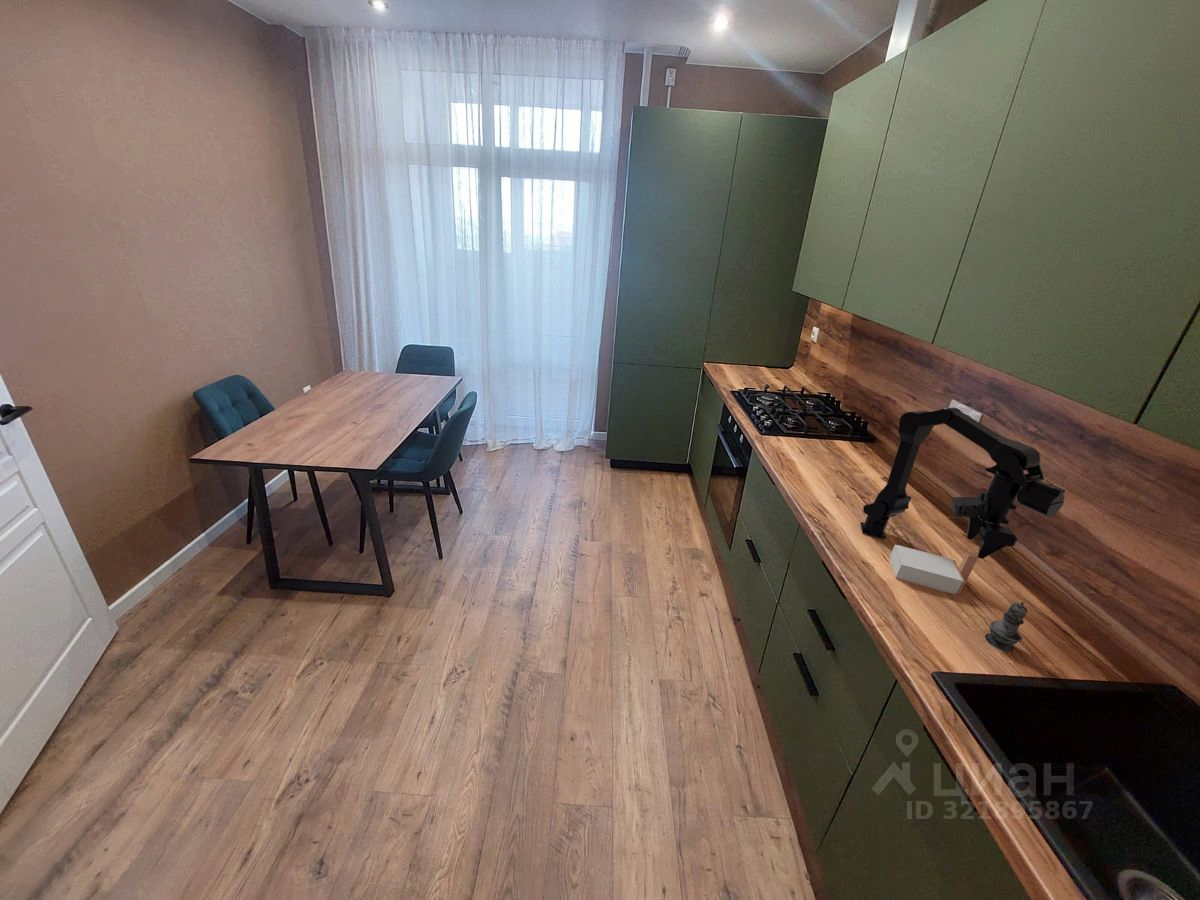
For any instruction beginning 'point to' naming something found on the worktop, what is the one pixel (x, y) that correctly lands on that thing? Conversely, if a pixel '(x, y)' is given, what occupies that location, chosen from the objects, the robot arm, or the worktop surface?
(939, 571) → the sleeve
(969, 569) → the mailer tray
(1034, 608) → the worktop surface
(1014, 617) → the grey figurine
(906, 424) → the robot arm
